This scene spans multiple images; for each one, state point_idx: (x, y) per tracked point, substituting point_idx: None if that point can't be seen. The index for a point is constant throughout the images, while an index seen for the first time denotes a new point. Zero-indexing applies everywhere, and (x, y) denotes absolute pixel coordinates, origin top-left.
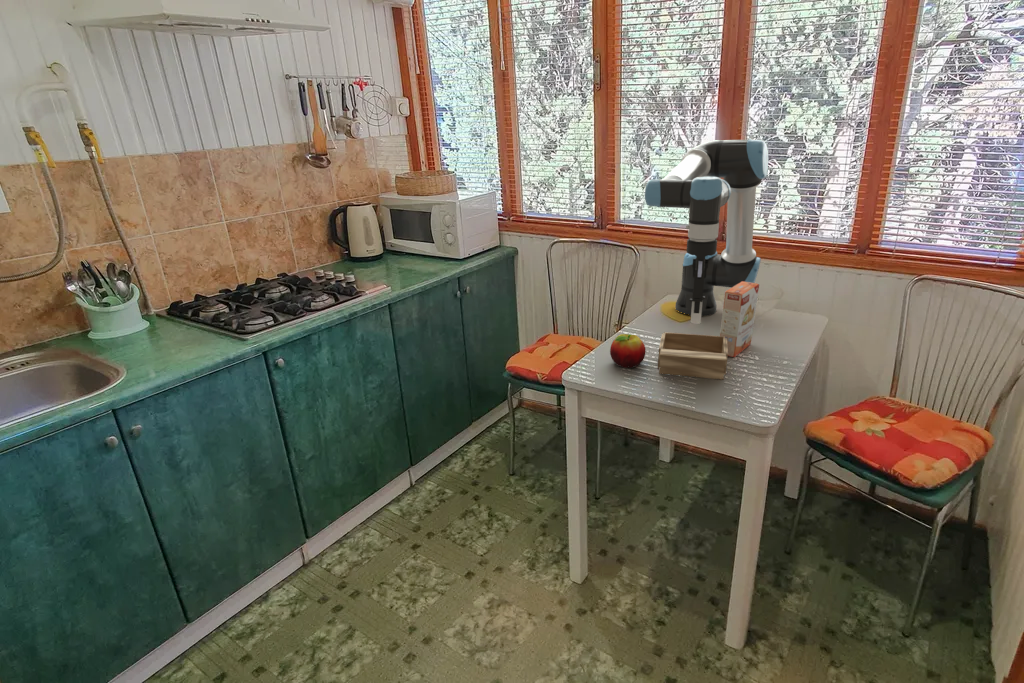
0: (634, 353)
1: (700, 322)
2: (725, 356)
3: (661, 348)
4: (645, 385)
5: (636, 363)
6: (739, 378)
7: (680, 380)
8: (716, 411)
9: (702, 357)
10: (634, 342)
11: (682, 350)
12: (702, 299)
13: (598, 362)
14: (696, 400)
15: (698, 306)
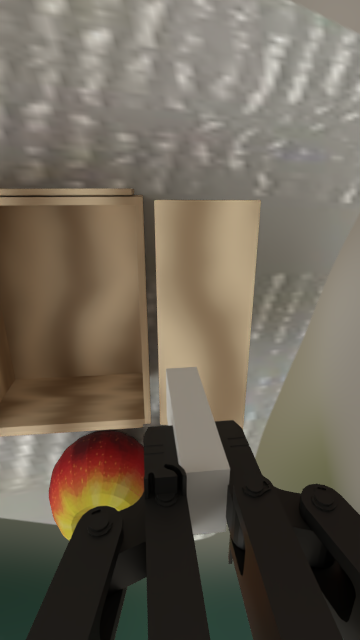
0: None
1: (197, 371)
2: (211, 203)
3: (144, 421)
4: None
5: (138, 442)
6: (115, 137)
7: None
8: (349, 217)
9: (253, 294)
10: (129, 500)
11: (159, 360)
12: (333, 502)
13: None
14: (292, 270)
15: (252, 463)
